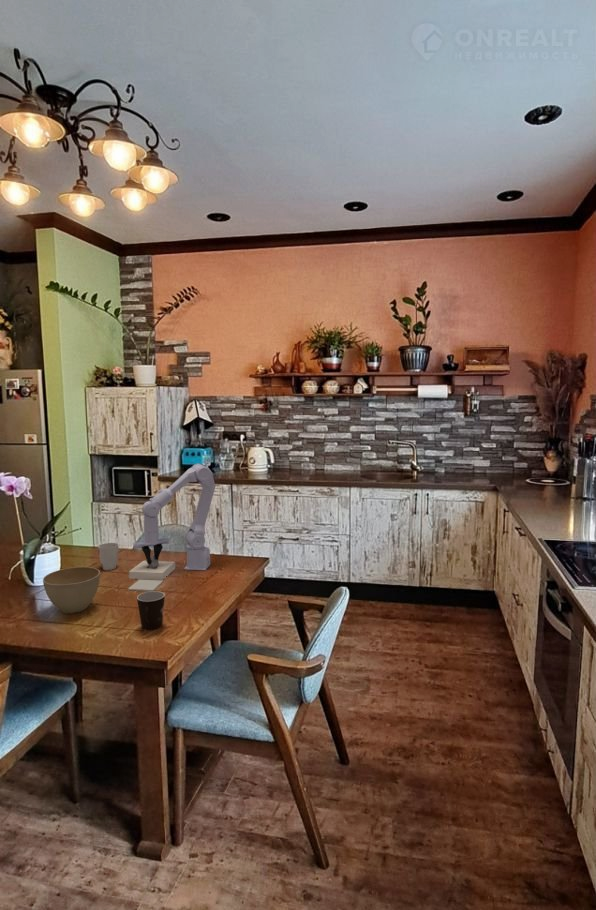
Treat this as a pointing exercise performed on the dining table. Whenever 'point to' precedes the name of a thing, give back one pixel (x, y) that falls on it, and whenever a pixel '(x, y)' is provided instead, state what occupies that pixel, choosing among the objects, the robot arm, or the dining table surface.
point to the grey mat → (145, 585)
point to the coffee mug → (151, 609)
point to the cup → (108, 555)
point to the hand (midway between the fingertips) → (152, 562)
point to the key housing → (152, 571)
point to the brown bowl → (72, 588)
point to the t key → (153, 562)
